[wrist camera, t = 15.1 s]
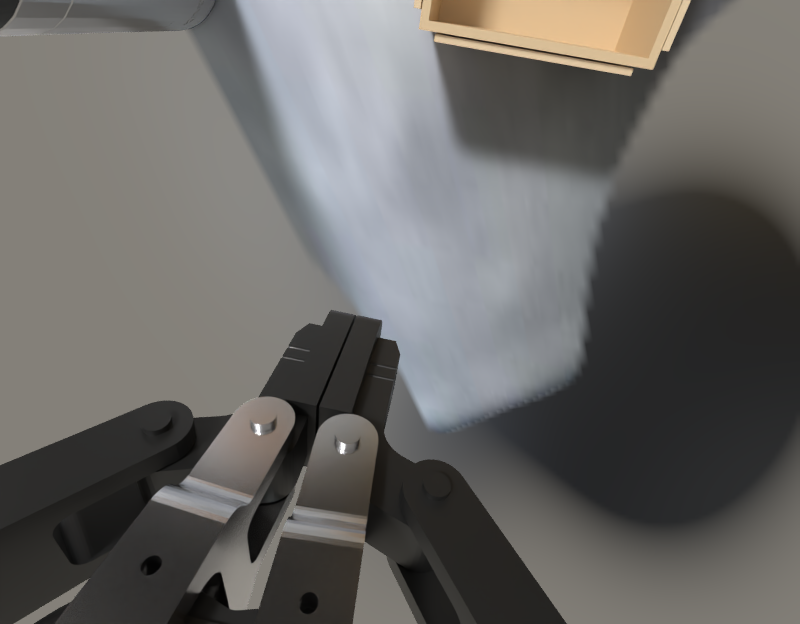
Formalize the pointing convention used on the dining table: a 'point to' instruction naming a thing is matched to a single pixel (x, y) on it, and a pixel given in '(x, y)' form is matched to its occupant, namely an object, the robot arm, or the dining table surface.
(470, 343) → the dining table surface
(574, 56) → the carton
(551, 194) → the dining table surface
